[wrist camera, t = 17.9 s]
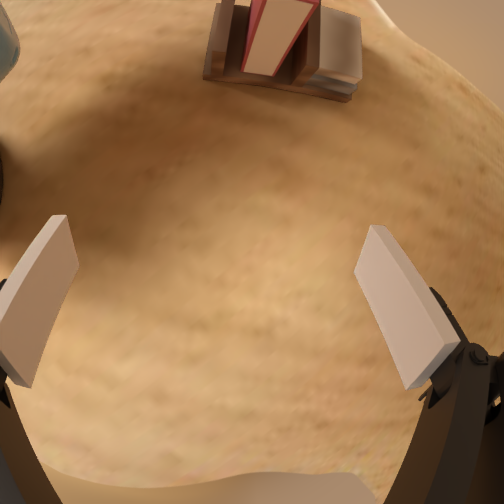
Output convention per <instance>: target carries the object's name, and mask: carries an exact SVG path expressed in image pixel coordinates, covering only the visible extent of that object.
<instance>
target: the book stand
mask: <svg viewBox="0 0 504 504" xmlns="http://www.w3.org/2000/svg"><path fill="white" fill-rule="evenodd" d="M234 4H235V0H222V2H221V3H216V8H215V12H214V17H213V22H212V27H211V32H210V37H209V42H208V48H207V53H206V59H205V65H204V71H203V80H214V81H225V82H234V83H243V84H250V85H258V86H265V87H271V88H277V89H283V90H289V91H294V92H299V93H304V94H309V95H314V96H318V97H323V98H327V99H331V100H336V101H340V102H344V103H347V102H348V101H350V100H351V99H352V93H353V92H354V91H356V90H357V83H358V82H359V81H360V80H362V40H361V21H360V17H357V16H354V15H351V14H348V13H345V12H342V11H338V10H335V9H332V8H328V7H325V6H321V0H319V4H318V6H317V7H316V9H315V11H314V12H313V14H312V15H311V17H310V18H309V20H308V21H307V23H306V25H305V26H304V28H303V29H302V31H301V33H300V34H299V36H298V37H297V39H296V41H295V42H294V44H293V46H292V47H291V49H290V51H289V52H288V54H287V56H286V57H285V59H284V61H283V62H282V64H281V66H280V67H279V69H278V71H277V73H276V74H275V76H274V77H272V76H266V75H259V74H252V73H244V72H240V70H241V62H242V55H243V47H244V40H245V32H246V25H247V18H248V11H249V8H250V7H248V6H240V5H234Z"/></svg>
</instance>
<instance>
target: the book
mask: <svg viewBox="0 0 504 504" xmlns="http://www.w3.org/2000/svg"><path fill="white" fill-rule="evenodd" d="M318 4H319V0H251V4H250V8H249V11H248V18H247V25H246V32H245V40H244V47H243V55H242V62H241V70H240V72H244V73H252V74H259V75H266V76H272V77H274V76H275V74H276V73H277V71H278V69H279V67H280V66H281V64H282V62H283V61H284V59H285V57H286V56H287V54H288V52H289V51H290V49H291V47H292V46H293V44H294V42H295V41H296V39H297V37H298V36H299V34H300V33H301V31H302V29H303V28H304V26H305V25H306V23H307V21H308V20H309V18H310V17H311V15H312V14H313V12H314V11H315V9H316V7H317V6H318Z"/></svg>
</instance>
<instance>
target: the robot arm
mask: <svg viewBox="0 0 504 504" xmlns="http://www.w3.org/2000/svg"><path fill="white" fill-rule="evenodd" d="M19 55H20V42H19V39H18V36H17V34H16V31H15V29H14V27H13V25H12V23H11V21H10V19H9V17H8V15H7V13H6V11H5V9H4V8H3V6H2V4H1V2H0V83H1V82H2V80H3V79H4V78H5V77H6V76H7V74H8V73H9V72H10V71H11V70H12V69H13V68H14V66H15V65H16V63H17V61H18V58H19ZM2 188H3V173H2V164H1V159H0V203H1V197H2ZM79 267H80V264H79V261H78V257H77V254H76V250H75V246H74V243H73V239H72V235H71V231H70V227H69V223H68V218H67V215H52V216H51V218H50V219H49V220H48V221H47V223H46V224H45V225H44V227H43V228H42V229H41V231H40V232H39V233H38V235H37V236H36V237H35V239H34V240H33V242H32V243H31V244H30V246H29V247H28V249H27V250H26V252H25V253H24V255H23V256H22V257H21V259H20V260H19V262H18V263H17V265H16V266H15V268H14V270H13V271H12V273H11V274H10V276H9V277H8V279H3V280H2V281H1V282H0V504H63V503H62V502H61V500H60V498H59V497H58V495H57V493H56V492H55V490H54V488H53V487H52V485H51V483H50V481H49V480H48V478H47V476H46V474H45V472H44V470H43V468H42V466H41V464H40V463H39V461H38V459H37V456H36V454H35V452H34V450H33V448H32V446H31V444H30V442H29V439H28V437H27V435H26V432H25V430H24V428H23V425H22V423H21V420H20V418H19V415H18V412H17V410H16V407H15V404H14V402H13V399H12V396H11V393H10V390H9V387H8V386H7V384H6V383H5V381H6V378H7V375H8V377H9V378H10V379H11V380H12V381H13V382H14V384H16V385H20V386H23V387H27V388H31V387H32V383H33V380H34V377H35V374H36V371H37V368H38V365H39V362H40V359H41V356H42V354H43V351H44V348H45V345H46V343H47V340H48V337H49V335H50V332H51V330H52V327H53V325H54V322H55V320H56V317H57V315H58V312H59V310H60V308H61V305H62V303H63V301H64V299H65V296H66V294H67V292H68V290H69V288H70V285H71V283H72V281H73V279H74V277H75V275H76V273H77V271H78V269H79ZM354 274H355V276H356V278H357V280H358V282H359V284H360V287H361V289H362V291H363V293H364V295H365V297H366V299H367V301H368V303H369V306H370V308H371V310H372V312H373V314H374V316H375V319H376V321H377V323H378V325H379V328H380V330H381V332H382V334H383V337H384V339H385V341H386V343H387V346H388V348H389V350H390V353H391V355H392V358H393V360H394V362H395V365H396V367H397V370H398V372H399V375H400V377H401V380H402V382H403V385H404V387H405V390H409V389H414V388H418V387H421V386H422V385H423V384H424V383H425V382H426V381H427V380H428V379H429V378H430V379H431V382H432V385H431V386H430V387H429V388H428V389H427V390H426V391H425V392H424V393H423V394H422V395H421V396H420V398H419V399H418V400H419V401H421V400H422V399H423V398H424V397H425V396H426V399H425V401H424V405H423V409H422V412H421V415H420V418H419V421H418V424H417V427H416V429H415V432H414V435H413V438H412V440H411V443H410V446H409V448H408V451H407V453H406V456H405V458H404V461H403V463H402V465H401V468H400V470H399V472H398V474H397V477H396V479H395V481H394V483H393V485H392V487H391V489H390V492H389V494H388V496H387V498H386V500H385V502H384V504H504V352H503V353H502V354H501V355H500V356H499V357H497V356H490V355H488V353H487V351H486V350H485V349H484V348H483V347H482V346H480V345H479V344H476V343H469V341H468V339H467V338H466V336H465V334H464V332H463V331H462V329H461V327H460V326H459V324H458V322H457V321H456V319H455V317H454V316H453V315H452V312H451V311H450V309H449V308H447V304H446V303H445V301H444V300H443V298H442V297H441V295H440V294H438V293H437V292H436V291H435V290H434V289H433V288H432V287H428V286H427V284H426V283H425V281H424V280H423V278H422V277H421V275H420V274H419V272H418V271H417V269H416V268H415V266H414V265H413V264H412V262H411V261H410V259H409V258H408V256H407V255H406V254H405V252H404V251H403V249H402V248H401V247H400V245H399V244H398V242H397V241H396V240H395V238H394V237H393V236H392V234H391V233H390V232H389V230H388V229H387V228H386V226H385V225H372V224H371V225H370V228H369V231H368V234H367V237H366V239H365V242H364V245H363V248H362V251H361V254H360V256H359V259H358V262H357V265H356V267H355V270H354ZM499 396H500V399H501V402H500V403H499V404H498V405H497V406H495V402H494V400H496V399H497V398H498V397H499Z"/></svg>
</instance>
